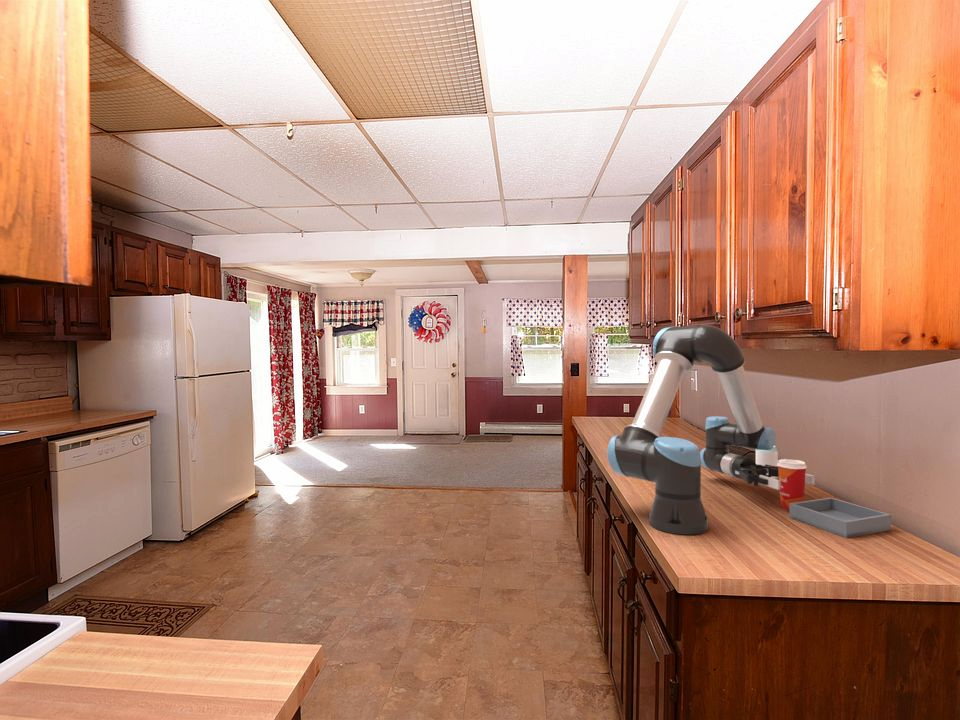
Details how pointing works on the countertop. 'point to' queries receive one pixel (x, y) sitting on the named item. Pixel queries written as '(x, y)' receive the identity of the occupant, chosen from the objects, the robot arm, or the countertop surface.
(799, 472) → the paper cup
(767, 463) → the can
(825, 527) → the box
